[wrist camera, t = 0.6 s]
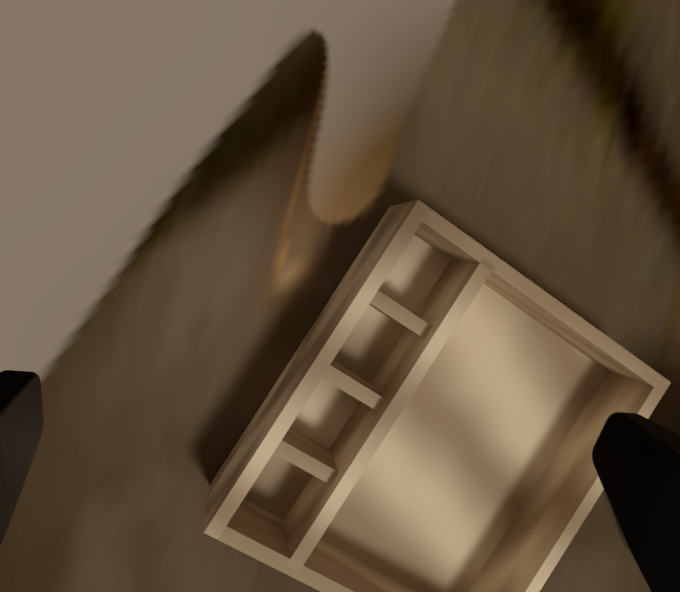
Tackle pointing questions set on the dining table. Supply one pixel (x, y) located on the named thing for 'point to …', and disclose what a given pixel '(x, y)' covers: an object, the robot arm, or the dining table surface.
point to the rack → (428, 426)
